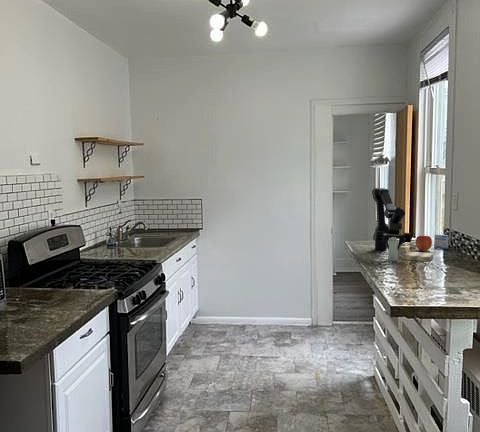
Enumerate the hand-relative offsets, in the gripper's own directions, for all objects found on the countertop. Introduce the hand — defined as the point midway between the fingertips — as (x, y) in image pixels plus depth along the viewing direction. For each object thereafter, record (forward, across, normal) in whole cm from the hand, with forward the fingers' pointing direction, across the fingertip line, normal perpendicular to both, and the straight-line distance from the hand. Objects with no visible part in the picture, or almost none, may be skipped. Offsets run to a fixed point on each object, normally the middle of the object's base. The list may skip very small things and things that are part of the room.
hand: (393, 248), depth 263 cm
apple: (-23, +17, +33) cm, 43 cm away
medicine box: (-33, +27, +43) cm, 60 cm away
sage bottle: (+4, 0, +6) cm, 7 cm away
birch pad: (-4, +14, +13) cm, 20 cm away
